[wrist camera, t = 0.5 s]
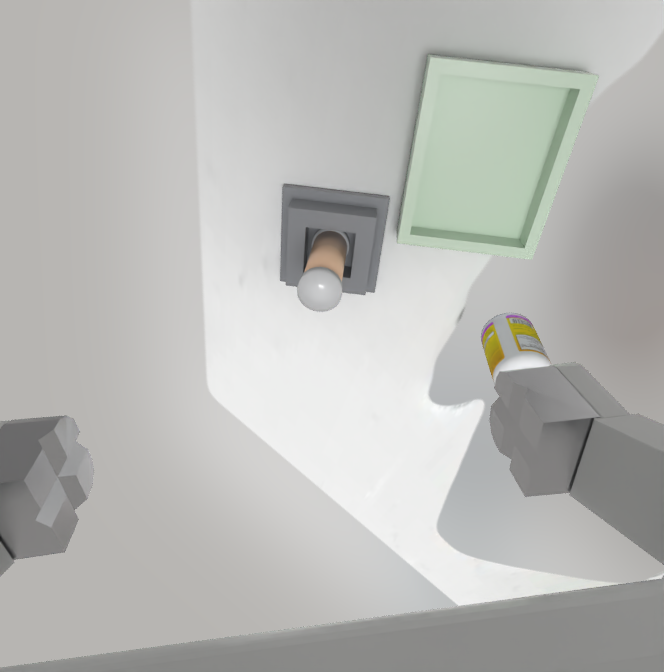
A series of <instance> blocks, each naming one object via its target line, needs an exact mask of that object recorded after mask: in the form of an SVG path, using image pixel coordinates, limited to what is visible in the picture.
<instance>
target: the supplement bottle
mask: <svg viewBox="0 0 664 672" xmlns="http://www.w3.org/2000/svg"><path fill="white" fill-rule="evenodd" d="M481 341H482V345H483V348H484V351H485V355H486V358H487V361H488V365H489V368H490V372H491V375H492V378H493V382H494V384H495V382H496V377H497V375H498V374H499V372H500V371H508V370H517V369H527V368H536V367H545V366H550V365H551V362H550V360H549V358H548V356H547V354H546V352H545V350H544V348H543V345H542V343H541V341H540V339H539V337H538V335H537V333H536V331H535V329H534V327H533V325H532V323H531V322H530V321H529V320H528V319H527V318H526V317H524V316H522V315H520V314H516V313H504V314H501V315H498V316H496V317H494V318H492V319H491V320H490V321H488V322H487V323H486V325H485V326H484V328H483V330H482V333H481Z"/></svg>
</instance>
